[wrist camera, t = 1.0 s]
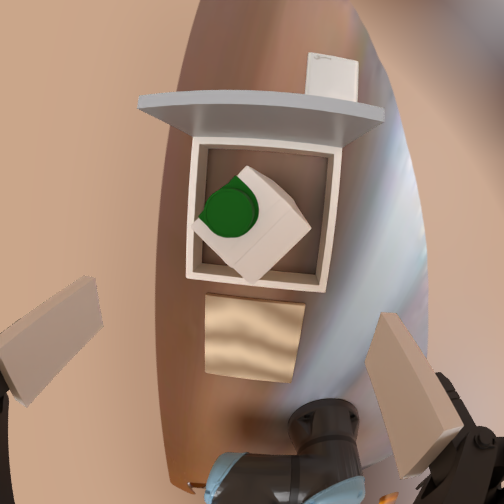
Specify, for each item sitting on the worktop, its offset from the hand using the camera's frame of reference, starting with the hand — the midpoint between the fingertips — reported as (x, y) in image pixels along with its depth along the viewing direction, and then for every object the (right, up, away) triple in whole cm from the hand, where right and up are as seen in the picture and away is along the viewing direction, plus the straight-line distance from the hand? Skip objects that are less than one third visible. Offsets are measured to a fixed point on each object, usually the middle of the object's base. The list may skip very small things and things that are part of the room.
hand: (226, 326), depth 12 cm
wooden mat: (+1, -12, +35) cm, 37 cm away
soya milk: (+3, +9, +30) cm, 32 cm away
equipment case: (+3, +13, +29) cm, 32 cm away
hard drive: (+13, +28, +25) cm, 40 cm away
